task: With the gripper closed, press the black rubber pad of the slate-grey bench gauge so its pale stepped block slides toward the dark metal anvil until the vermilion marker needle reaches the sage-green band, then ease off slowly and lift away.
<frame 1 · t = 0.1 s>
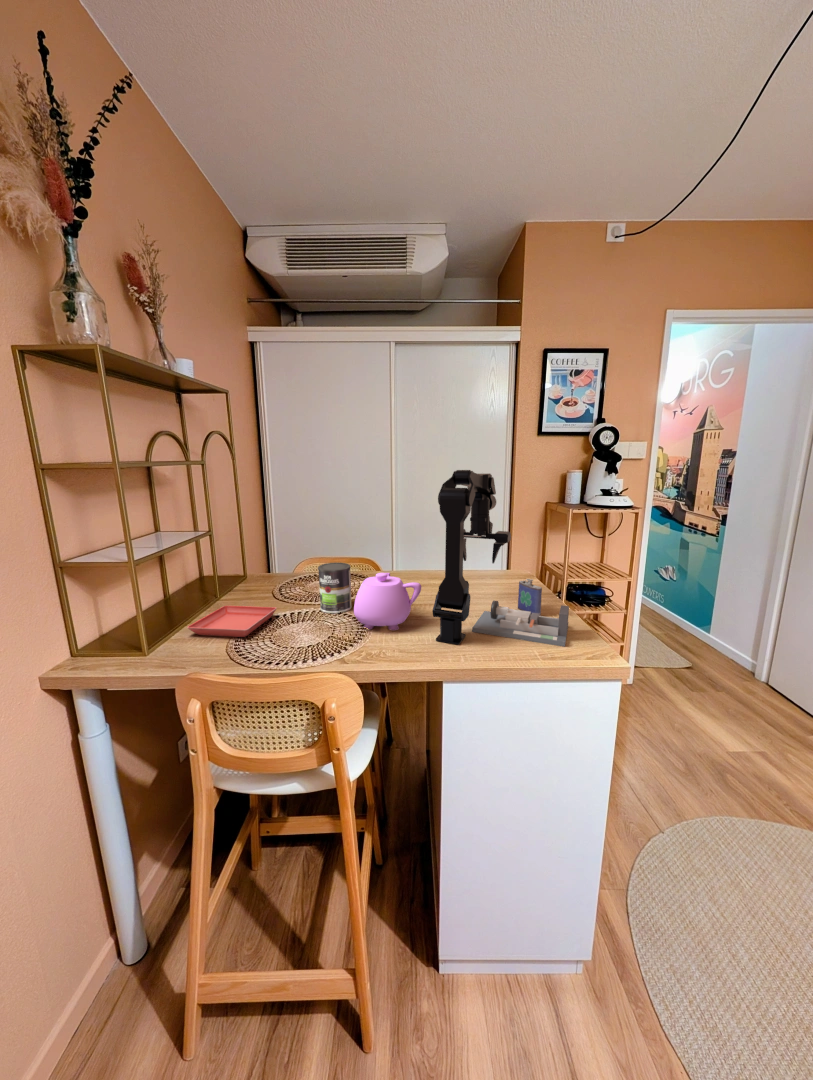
hand: (479, 561, 130), 15 cm above the table, fingers open, 9 cm apart
plant saucer: (235, 627, 119), on the table
flask: (528, 612, 126), on the table
teapot: (389, 621, 121), on the table
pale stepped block: (509, 615, 112), point 4 cm above the table, slide at 0.0 cm
coffee can: (336, 608, 132), on the table
marker: (533, 623, 109), point 3 cm above the table, slide at 0.0 cm
gauge bench: (520, 629, 113), on the table
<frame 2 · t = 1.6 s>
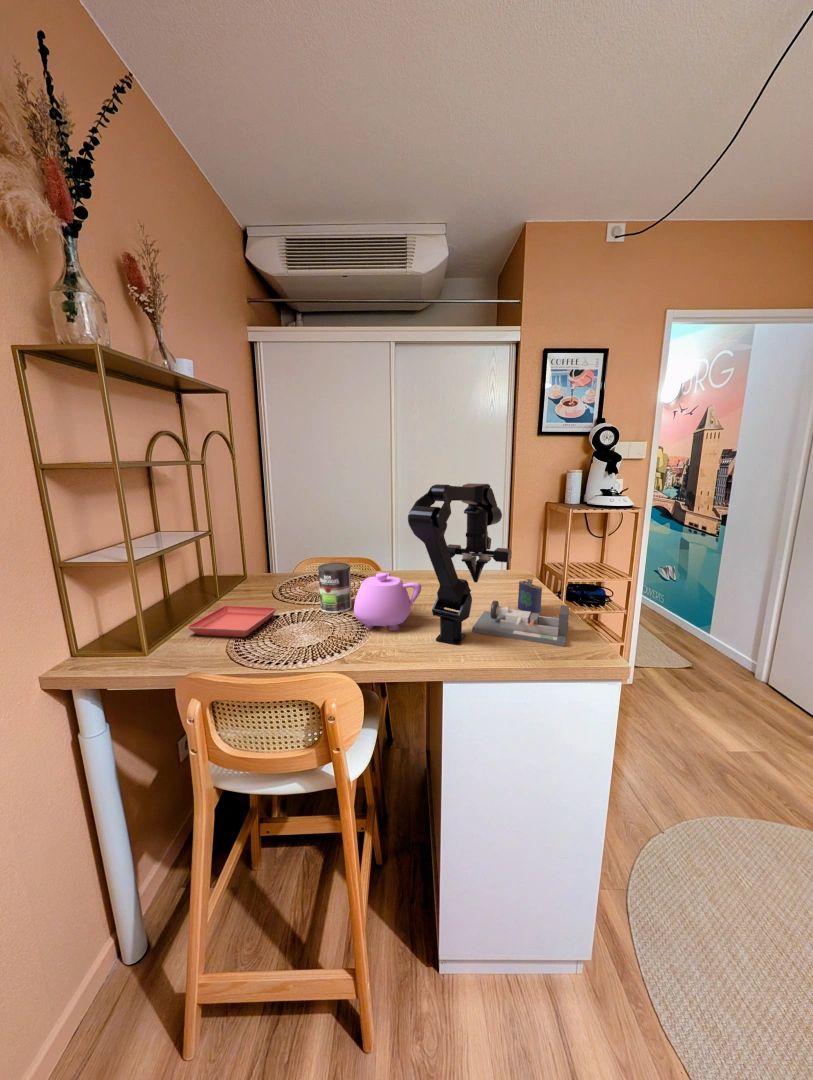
hand: (475, 582, 116), 12 cm above the table, fingers closed
nothing on the table moved.
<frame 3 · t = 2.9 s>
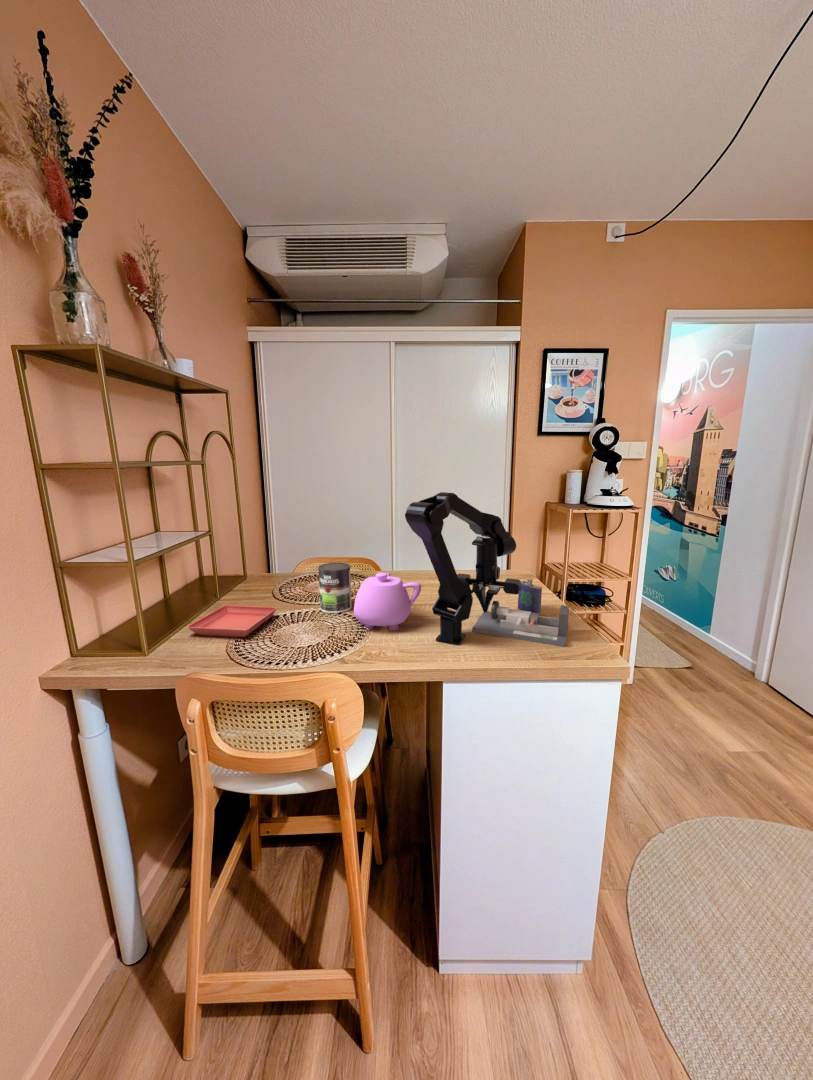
hand: (485, 612, 117), 4 cm above the table, fingers closed
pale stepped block: (509, 615, 112), point 4 cm above the table, slide at 0.1 cm, touching gripper
everything else where it was.
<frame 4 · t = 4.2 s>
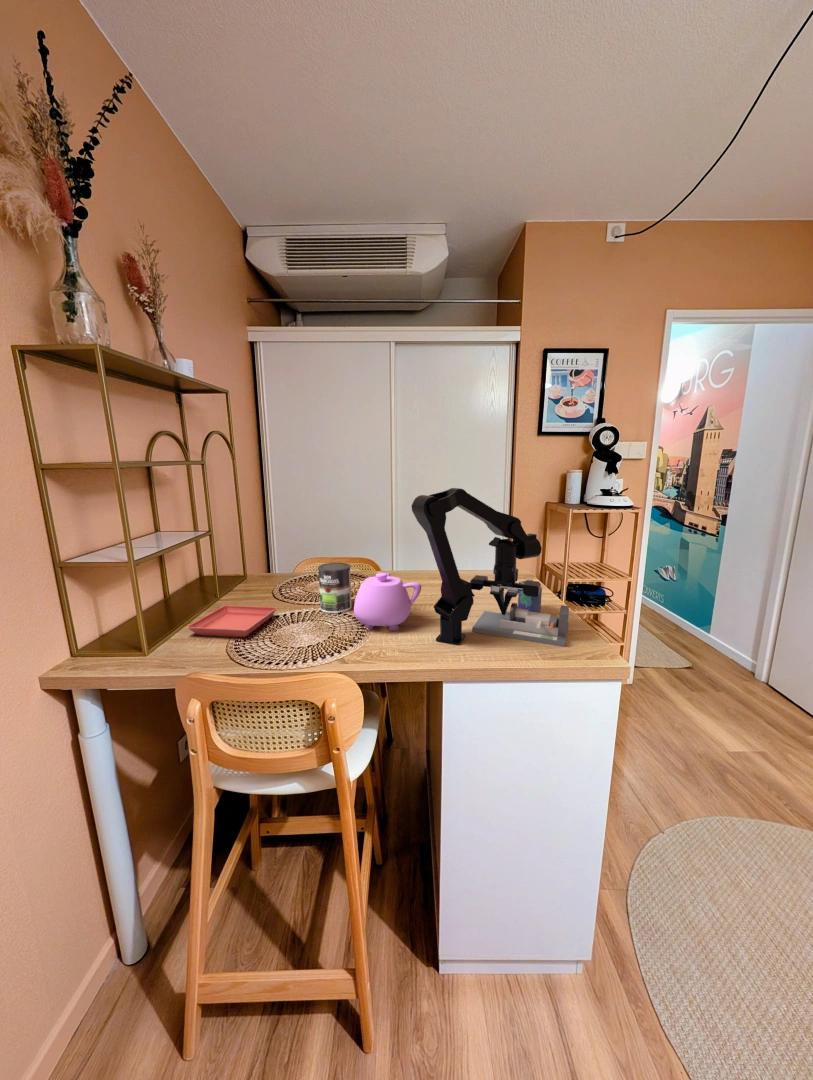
hand: (503, 614, 114), 4 cm above the table, fingers closed
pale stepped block: (529, 618, 109), point 4 cm above the table, slide at 5.3 cm, touching gripper, marker
marker: (552, 626, 107), point 3 cm above the table, slide at 4.9 cm, touching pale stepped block
everything else where it was.
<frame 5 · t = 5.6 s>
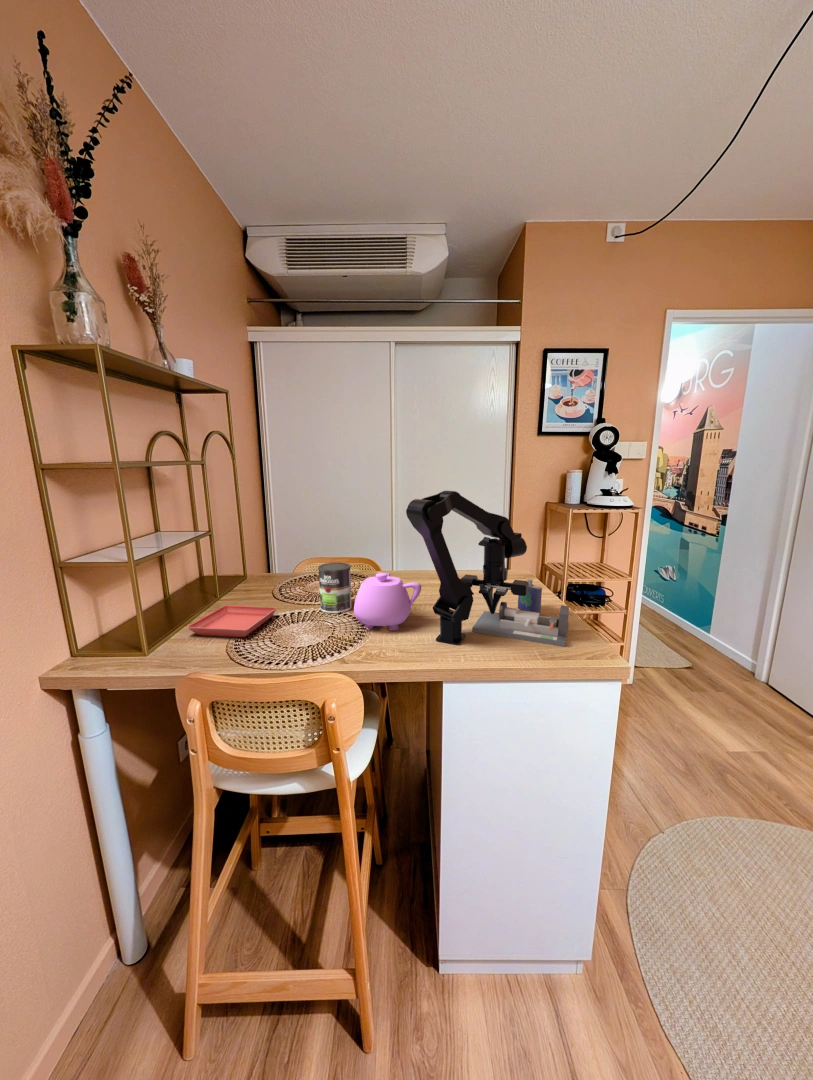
hand: (492, 613, 116), 3 cm above the table, fingers closed
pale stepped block: (517, 616, 111), point 4 cm above the table, slide at 2.3 cm, touching gripper
marker: (552, 626, 107), point 3 cm above the table, slide at 5.0 cm
everything else where it was.
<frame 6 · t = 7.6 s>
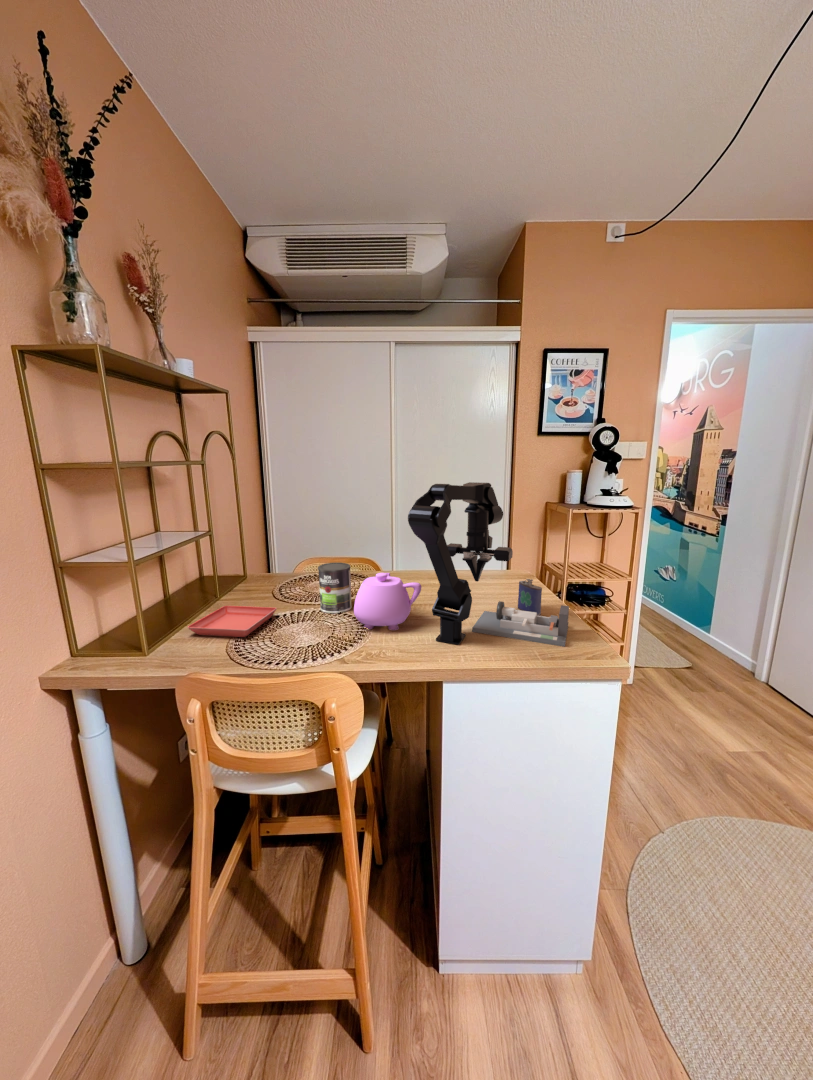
hand: (476, 581, 116), 12 cm above the table, fingers closed
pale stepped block: (515, 616, 111), point 4 cm above the table, slide at 1.6 cm
everything else where it was.
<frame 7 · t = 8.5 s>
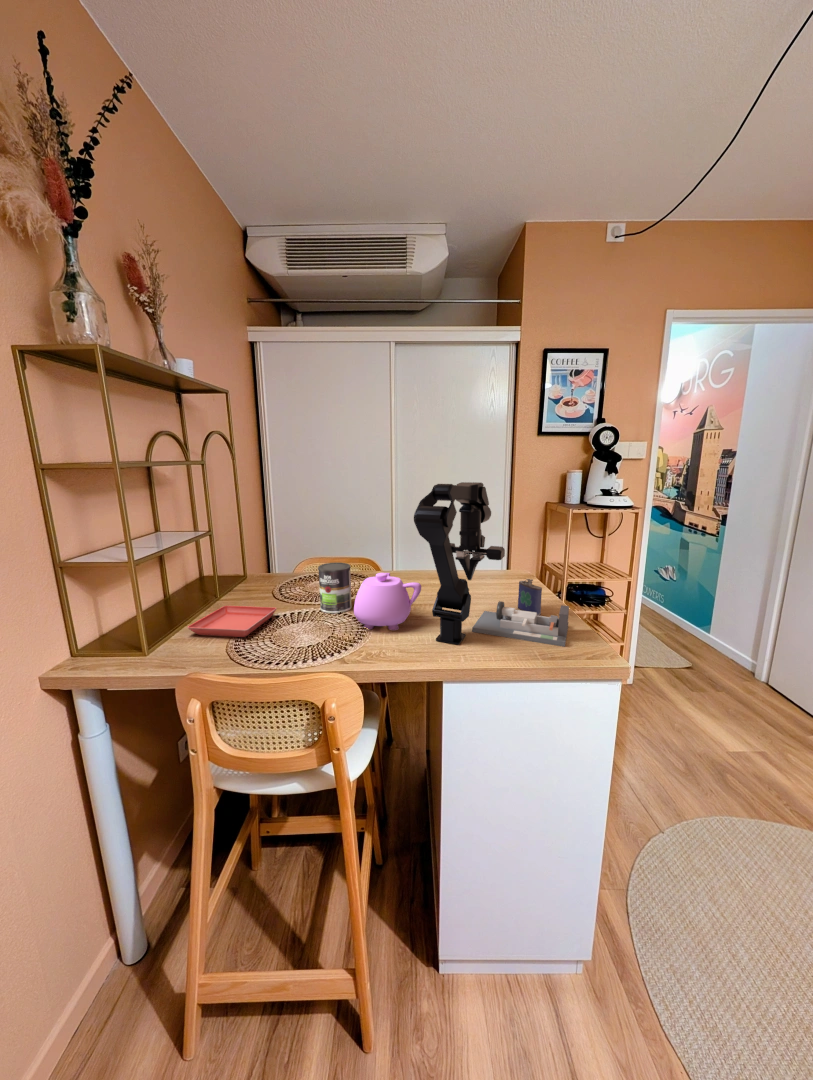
hand: (469, 579, 117), 12 cm above the table, fingers closed
nothing on the table moved.
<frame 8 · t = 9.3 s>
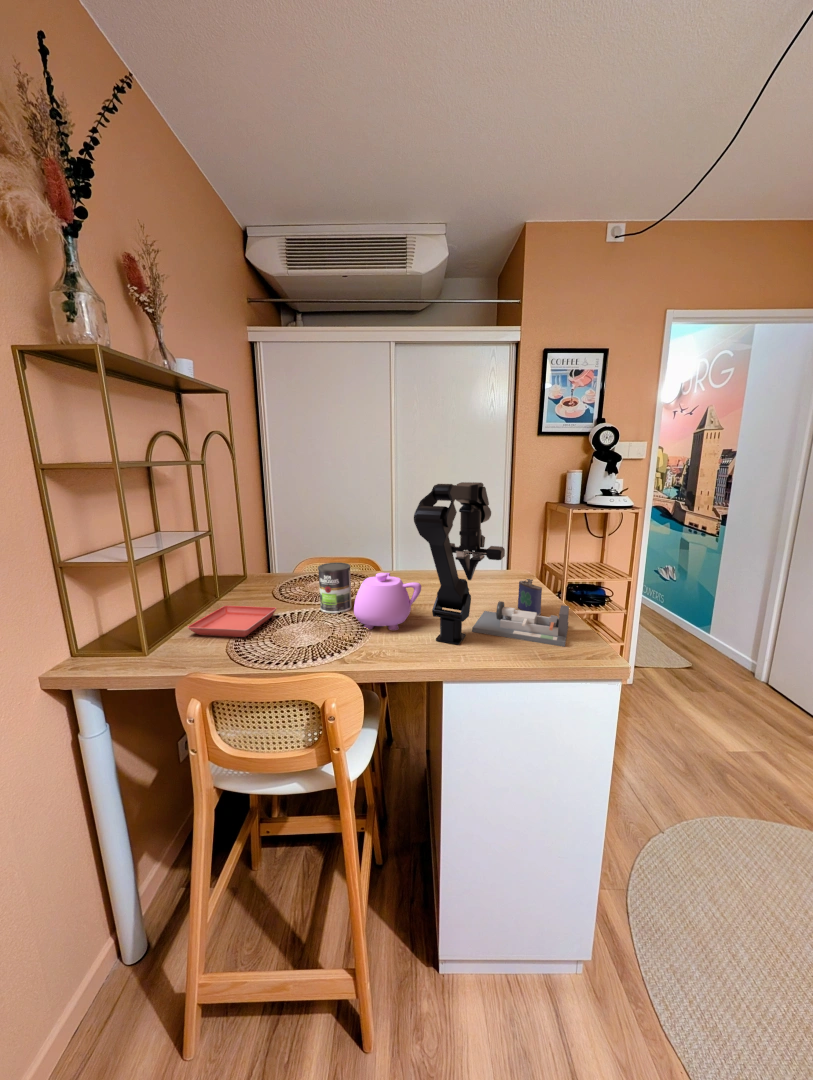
hand: (469, 579, 117), 12 cm above the table, fingers closed
nothing on the table moved.
at the end: marker slide at 5.0 cm; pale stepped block slide at 1.6 cm; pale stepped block touching nothing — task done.
